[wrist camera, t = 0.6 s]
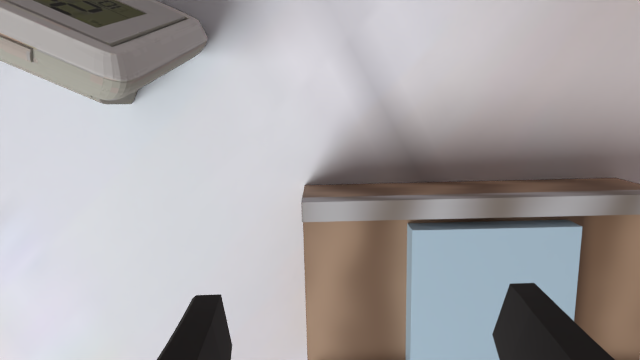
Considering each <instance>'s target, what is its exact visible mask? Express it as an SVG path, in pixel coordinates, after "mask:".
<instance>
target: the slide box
mask: <svg viewBox="0 0 640 360" xmlns="http://www.w3.org/2000/svg"><path fill="white" fill-rule="evenodd" d="M301 205H302V222H303V232H304V263H305V293H306V324H307V355H308V360H406V282H407V223H445V222H490V221H534V220H570V221H572V222H574V223H576V224H578V225H580V226H582V238H581V249H580V260H579V271H578V283H577V294H576V305H575V316H574V322H575V323H576V324H577V325H578V326H579V327H580V328H581V329H583V330H584V331H585V332H586V333H587V334H588V335H589V336H590V337H591V338H592V339H593V340H594V341H595V342H596V343H597V344H598V345H599V346H601V347H602V348H603V349H604V350H605V351H606V352H607V353H608V354H609V355H610V356H611V357H613V358H614V359H615V360H640V184H637V183H633V182H629V181H626V180H622V179H618V178H595V179H552V180H509V181H466V182H423V183H380V184H337V185H305V187H304V192H303V197H302V202H301Z"/></svg>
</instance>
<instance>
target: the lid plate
mask: <svg viewBox="0 0 640 360" xmlns="http://www.w3.org/2000/svg"><path fill="white" fill-rule="evenodd" d="M581 238H582V226H580V225H578V224H576V223H574V222H572V221H570V220H534V221H490V222H445V223H407V282H406V360H500V359H499V356H498V353H497V349H496V346H495V342H494V339H493V335H492V334H493V331H494V328H495V325H496V322H497V319H498V316H499V314H500V311H501V308H502V305H503V302H504V299H505V296H506V293H507V290H508V288H509V285H510V284H514V283H535V284H536V285H537V286H538V287H539V288H540V289H541V290H542V291H543V292H544V293H545V294H546V295H547V296H548V297H549V298H550V299H552V300H553V301H554V302H555V303H556V304H557V305H558V306H559V307H560V308H561V309H562V310H563V311H564V312H565V313H566V314H567V315H568V316H569V317H570V318H571V319H572V320H573V321H574V316H575V305H576V294H577V283H578V271H579V260H580V249H581Z"/></svg>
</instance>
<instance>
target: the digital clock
mask: <svg viewBox="0 0 640 360" xmlns="http://www.w3.org/2000/svg"><path fill="white" fill-rule="evenodd" d="M207 39H208V37H207V35H206V33H205V31H204V29H203V27H202V25H201V23H200V22H199V20H197V19H196V18H194V17H192V16H190V15H188V14H186V13H183V12H181V11H179V10H177V9H175V8H172V7H170V6H168V5H166V4H163V3H161V2H159V1H157V0H0V61H2V62H5V63H7V64H9V65H12V66H14V67H17V68H19V69H21V70H24V71H26V72H29V73H31V74H33V75H36V76H38V77H40V78H43V79H45V80H48V81H50V82H52V83H55V84H57V85H60V86H62V87H64V88H67V89H69V90H71V91H74V92H76V93H79V94H81V95H83V96H86V97H88V98H90V99H93V100H95V101H98V102H100V103H103V104H132V103H133V101H134V99H135V96H136V93H137V90H138V89H140V88H142V87H143V86H145V85H147V84H149V83H150V82H152V81H154V80H156V79H157V78H159V77H161V76H162V75H164V74H166V73H168V72H169V71H171V70H173V69H174V68H176V67H178V66H180V65H181V64H183V63H185V62H186V61H188V60H190V59H192V58H193V57H195V56H196V55H197V54H199V53H200V52H201V51H202V50H203V48H204V47H205V45H206V43H207Z"/></svg>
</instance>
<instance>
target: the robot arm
mask: <svg viewBox="0 0 640 360" xmlns="http://www.w3.org/2000/svg"><path fill="white" fill-rule="evenodd" d="M492 335H493V339H494V342H495V346H496V349H497V353H498V356H499V359H500V360H615V359H614V358H613V357H611V356H610V355H609V354H608V353H607V352H606V351H605V350H604V349H603V348H602V347H601V346H599V345H598V344H597V343H596V342H595V341H594V340H593V339H592V338H591V337H590V336H589V335H588V334H587V333H586V332H585V331H584V330H583V329H581V328H580V327H579V326H578V325H577V324H576V323H575V322H574V321H573V320H572V319H571V318H570V317H569V316H568V315H567V314H566V313H565V312H564V311H563V310H562V309H561V308H560V307H559V306H558V305H557V304H556V303H555V302H554V301H553V300H552V299H550V298H549V297H548V296H547V295H546V294H545V293H544V292H543V291H542V290H541V289H540V288H539V287H538V286H537V285H536V284H535V283H514V284H510V285H509V288H508V290H507V293H506V296H505V299H504V302H503V305H502V308H501V311H500V314H499V316H498V319H497V322H496V325H495V328H494V331H493V334H492ZM231 350H232V343H231V338H230V334H229V329H228V325H227V320H226V316H225V311H224V307H223V302H222V297H221V295H196V296H195V297H194V298H193V299H192V301H191V302H190V304H189V306H188V308H187V310H186V312H185V314H184V315H183V317H182V319H181V321H180V322H179V324H178V326H177V328H176V329H175V331H174V333H173V334H172V336H171V338H170V339H169V341H168V343H167V344H166V346H165V348H164V349H163V351H162V352H161V354H160V356H159V357H158V359H157V360H231Z"/></svg>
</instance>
